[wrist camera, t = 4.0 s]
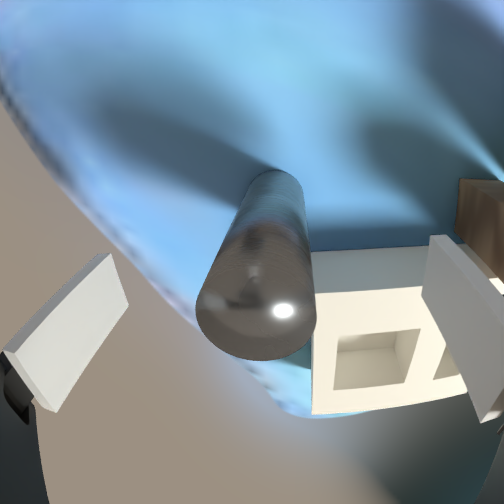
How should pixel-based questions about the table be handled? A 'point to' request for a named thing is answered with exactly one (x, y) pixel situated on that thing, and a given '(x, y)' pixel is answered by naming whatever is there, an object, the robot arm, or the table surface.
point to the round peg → (262, 275)
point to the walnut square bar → (482, 220)
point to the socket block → (378, 331)
